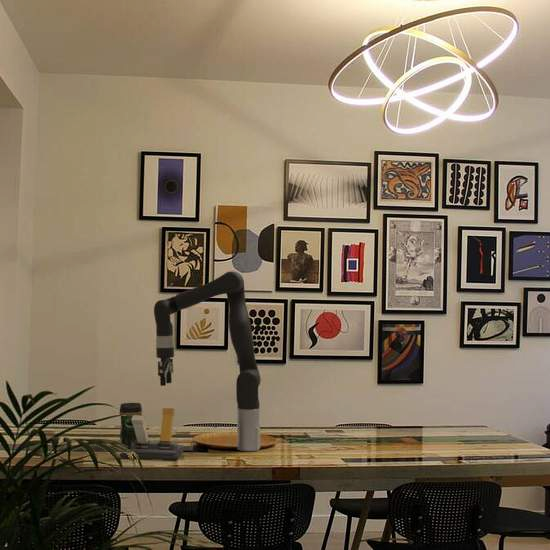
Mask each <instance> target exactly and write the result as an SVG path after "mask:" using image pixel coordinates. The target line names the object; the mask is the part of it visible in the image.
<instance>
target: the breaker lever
mask: <svg viewBox="0 0 550 550" xmlns="http://www.w3.org/2000/svg"><path fill="white" fill-rule="evenodd" d="M175 411H176V410H175V408H171V407H166V408H165V407H164V408H163V407H162V419H161V420H162V421H161V427H160V428H161V429H160V436H159V437H160V438H159V441H160V442H159V447H169V444H170V443H172V436H173V426H174V417H175V413H176V412H175Z"/></svg>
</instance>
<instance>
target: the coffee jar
mask: <svg viewBox="0 0 550 550" xmlns="http://www.w3.org/2000/svg"><path fill="white" fill-rule="evenodd" d="M119 407H120V408H119V412H118V413H119V416H120V415H126V416H121V417H120V432H119V433H120V434H119V444H120V443H122V444H124V445H126V446H128V447H131V442H133V441H135V440H137V438H136V434H135V430H134V426H133V424H132V421H131V419H132V417H133V415H140V416H143V408H142V404H141V403H140V402H126V403H125V402H123V403H121V404H120V406H119Z"/></svg>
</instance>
